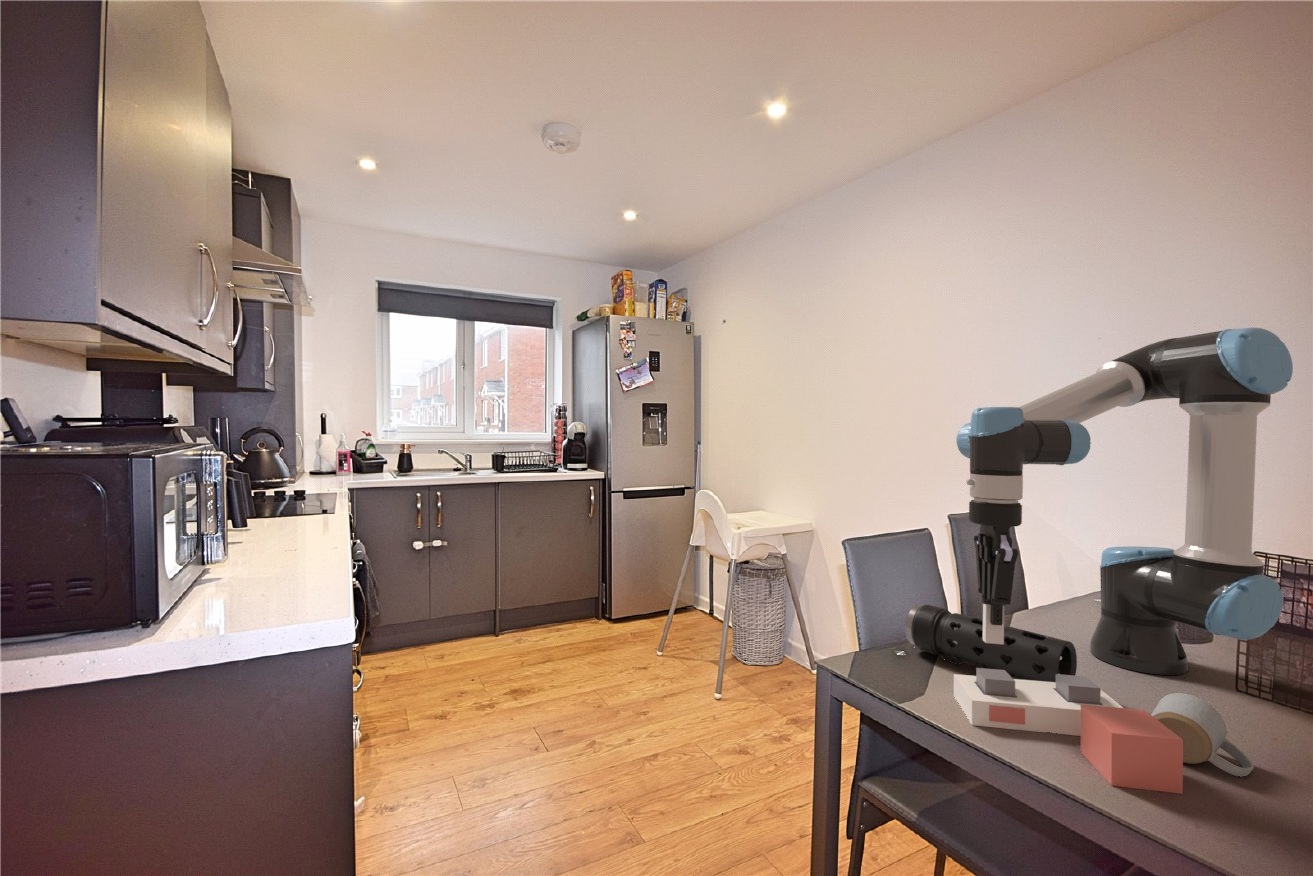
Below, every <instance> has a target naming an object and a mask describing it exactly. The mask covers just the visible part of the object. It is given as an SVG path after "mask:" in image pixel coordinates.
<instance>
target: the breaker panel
mask: <svg viewBox="0 0 1313 876" xmlns="http://www.w3.org/2000/svg"><path fill="white" fill-rule="evenodd" d="M1014 681H1015V697H1004V696H993V695H984V694H983V693H982V692H981V690H980V689H979V688H978V686H977V685H976V675H969V674H968V675H967V674H957V673H956V674H954V673H953V698H954V697H955V698H954V700H955V701H956V700H957V701H956V703H957V702H958V703H959V704H958V703H957V704H958V706H959V705H960V706H961V707H960V706H959V707H960V709H961V708H962V709H961V711H962V712H963V711H964V712H963V713H965V714H966V715H965V714H964V715H965V717H966V716H967V717H966V718H967V719H969V720H968V721H969V723H970V725H971V724H972V725H971V726H976V727H986V728H988V727H989V728H995V729H996V728H997V729H1008V730H1017V731H1026V732H1027V731H1028V732H1035V733H1037V732H1039V733H1046V732H1050V733H1049V734H1056V733H1057V735H1058V734H1060V735H1067V736H1068V735H1069V736H1076V737H1077V736H1079V737H1081V705H1091V706H1103V707H1114V708H1124V707H1123V706H1122V705H1120V704H1119V703H1118V702H1117V701H1115V699H1113V698H1112V697H1111V696H1109V695H1108V694H1107V693H1106V692H1104V690H1102V689H1101V688H1100V705H1096V704H1084V703H1073V702H1067V701H1066V700H1065V699H1064V698H1063V697H1062V696H1061V695H1059V694H1058V693H1057V692H1056V682H1045V681H1033V680H1020V679H1014ZM1051 732H1052V733H1051Z"/></svg>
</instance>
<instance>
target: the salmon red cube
mask: <svg viewBox="0 0 1313 876" xmlns="http://www.w3.org/2000/svg"><path fill="white" fill-rule="evenodd" d="M1080 753H1081V755H1083V757H1084V758H1086V760H1087V761H1088V762H1089V763H1090V764H1091V765H1092V767H1093V768H1094V769H1095V770H1097V772H1098V773H1100V775H1101V776H1102V777H1103V779H1105V780H1106V781H1107V783H1108V784H1109V785H1111V787H1112V786H1113V787H1120V788H1121V787H1122V788H1129V789H1138V790H1146V791H1154V792H1163V793H1164V792H1165V793H1174V794H1181V795H1182V794H1184V793H1183V792H1184V786H1183V785H1184V783H1183V782H1184V775H1183V774H1184V763H1183V740H1182V739H1181V738H1180V737H1179V736H1177V735H1176V734H1175V733H1173V732H1172V731H1171V730H1170V729H1168V728H1167V727H1166V726H1164V725H1163V724H1162V723H1160V722H1159V721H1158V720H1157V719H1155V718H1154V717H1153V716H1151V713H1149V712H1148V711H1147V710H1145V709H1136V708H1124V707H1123V708H1114V707H1103V706H1091V705H1081V736H1080Z"/></svg>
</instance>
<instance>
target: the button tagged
mask: <svg viewBox="0 0 1313 876" xmlns="http://www.w3.org/2000/svg"><path fill="white" fill-rule="evenodd" d="M975 671H976V672H975V673H976V674H975V676H976V685H977V686H978V688H979V689H980V690H981V692H982V693H983V694H984V695H993V696H1004V697H1015V681H1014V679H1013V678H1012V677H1011V676H1010V675H1009V674H1008V673H1007V672H1006V671H1005V670H997V669H984V668H979V667H976V668H975Z"/></svg>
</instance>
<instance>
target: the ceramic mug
mask: <svg viewBox="0 0 1313 876" xmlns="http://www.w3.org/2000/svg"><path fill="white" fill-rule="evenodd" d="M1150 715H1151V716H1153V717H1154V718H1155V719H1157V720H1158V721H1159V722H1160V723H1162V724H1163V725H1164V726H1166V727H1167V728H1168V729H1170V730H1171V731H1172V732H1173V733H1175V734H1176V735H1177V736H1179V737H1180V738H1181V739H1182V740H1183V764H1184V763H1185V764H1189V765H1190V764H1191V765H1192V764H1193V765H1195V764H1196V765H1197V764H1203V763H1204V762H1207V761H1208V762H1210V763H1211V764H1212V765H1214V766H1215V767H1217V768H1218V769H1220V770H1222V771H1224V772H1225V773H1227V774H1229V775H1232V776H1236V777H1238V776H1240V777H1239V778H1243V777H1242V776H1246V777H1247V775H1248V774H1249V775H1250V774H1251V772H1253V770H1254V764H1253V762H1252V760H1251V758H1250V757H1249V755H1247V754H1246V753H1245V752H1243V751H1242V750H1241V748H1239V747H1238V746H1237V745H1235V744H1234V743H1233V742H1231V741H1230V740H1229V739H1227V733H1228V731H1227V725H1226V722H1225V720H1224V719H1223V717H1222V715H1221V714H1220V713H1219V711H1217V710H1216V708H1215V707H1213V706H1212V705H1211V704H1209V703H1208V702H1207V701H1205V700H1204V699H1201V698H1200V697H1197V696H1194V695H1192V694H1188V693H1184V692H1183V693H1181V692H1175V693H1173V692H1172V693H1169V694H1166V695H1165V696H1162V698H1161V699H1160V700H1159V702H1158V703H1157V705H1156V706H1155V708H1154V710H1153V711H1152V713H1150ZM1219 749H1221V750H1223V751H1224V752H1226V753H1227V754H1229V755H1230V756H1231V757H1232V758H1233V759H1234V760H1236V761H1237V763H1239V765H1240V766H1242V767H1240V766H1237V765H1236V764H1233V763H1232V762H1229V761H1228V760H1227V759H1225V758H1223V757H1221V756H1219V755H1218V754H1217V751H1218V750H1219ZM1249 775H1248V776H1249Z"/></svg>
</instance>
